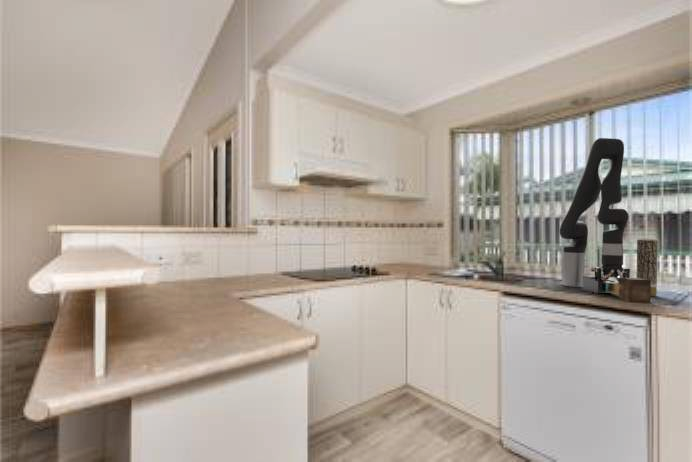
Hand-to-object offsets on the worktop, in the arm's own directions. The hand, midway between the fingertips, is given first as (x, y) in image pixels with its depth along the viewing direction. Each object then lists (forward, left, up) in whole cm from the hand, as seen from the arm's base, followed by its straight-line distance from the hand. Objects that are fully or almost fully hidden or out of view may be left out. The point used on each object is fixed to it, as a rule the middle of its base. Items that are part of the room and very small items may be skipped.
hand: (611, 291), depth 148 cm
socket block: (+12, 0, -2) cm, 12 cm away
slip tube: (-2, 0, -1) cm, 2 cm away
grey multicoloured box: (-8, 0, -2) cm, 8 cm away
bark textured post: (-2, +17, -2) cm, 17 cm away
